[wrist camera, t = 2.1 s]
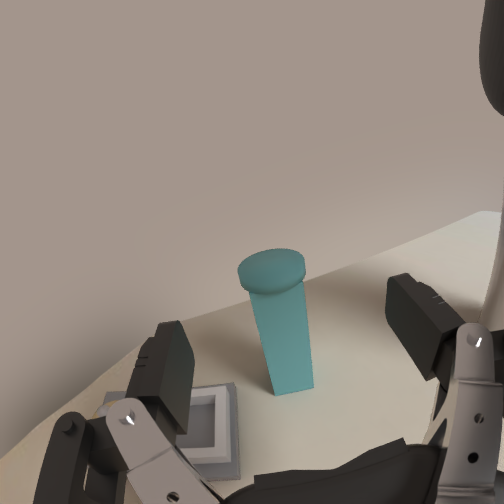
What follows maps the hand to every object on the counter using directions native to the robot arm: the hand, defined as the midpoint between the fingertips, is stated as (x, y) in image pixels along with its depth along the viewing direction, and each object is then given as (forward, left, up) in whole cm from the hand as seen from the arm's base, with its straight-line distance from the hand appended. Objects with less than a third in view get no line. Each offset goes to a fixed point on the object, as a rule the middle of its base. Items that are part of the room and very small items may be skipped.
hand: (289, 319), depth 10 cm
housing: (+14, -6, -18) cm, 23 cm away
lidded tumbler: (0, -11, -18) cm, 21 cm away
